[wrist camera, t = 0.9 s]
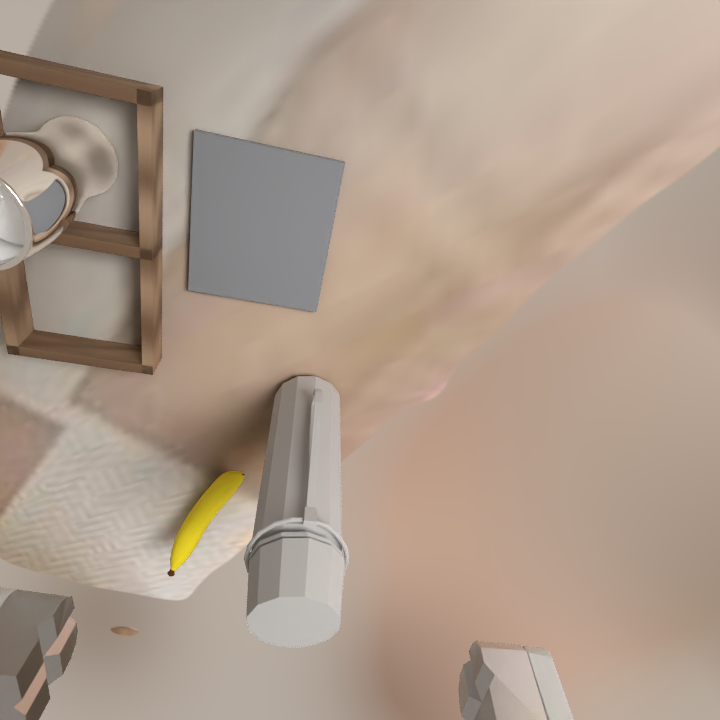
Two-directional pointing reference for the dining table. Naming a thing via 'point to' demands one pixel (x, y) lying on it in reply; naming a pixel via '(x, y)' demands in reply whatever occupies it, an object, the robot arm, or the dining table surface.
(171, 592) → the dining table surface
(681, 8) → the dining table surface
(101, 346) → the frame
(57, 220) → the beer glass
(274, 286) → the charcoal mat
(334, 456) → the water bottle
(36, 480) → the dining table surface
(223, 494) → the banana
